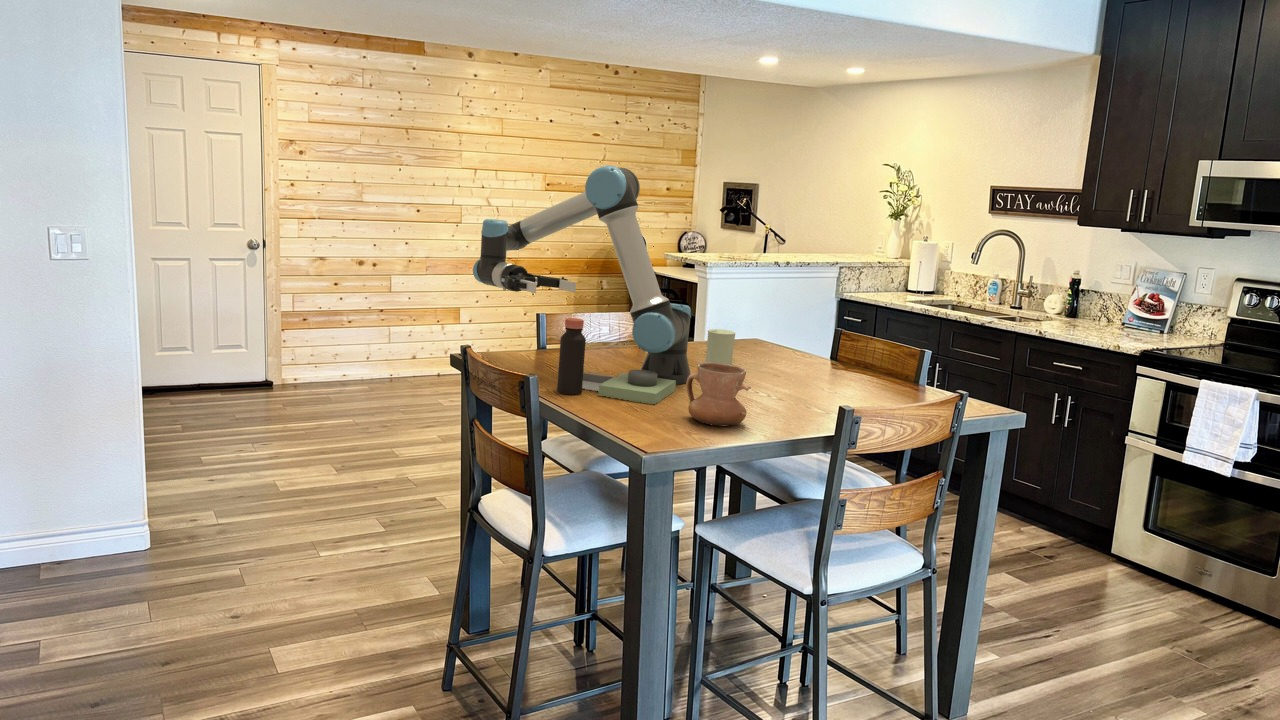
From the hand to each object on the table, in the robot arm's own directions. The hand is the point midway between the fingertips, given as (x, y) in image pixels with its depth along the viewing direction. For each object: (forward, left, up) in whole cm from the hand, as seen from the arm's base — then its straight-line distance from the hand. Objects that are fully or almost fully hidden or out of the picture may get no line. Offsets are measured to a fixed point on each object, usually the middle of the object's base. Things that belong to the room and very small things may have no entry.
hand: (555, 287), depth 253 cm
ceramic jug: (-50, +12, -27) cm, 59 cm away
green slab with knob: (-18, -6, -27) cm, 33 cm away
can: (-34, -63, -27) cm, 76 cm away
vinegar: (-8, +5, -27) cm, 29 cm away
